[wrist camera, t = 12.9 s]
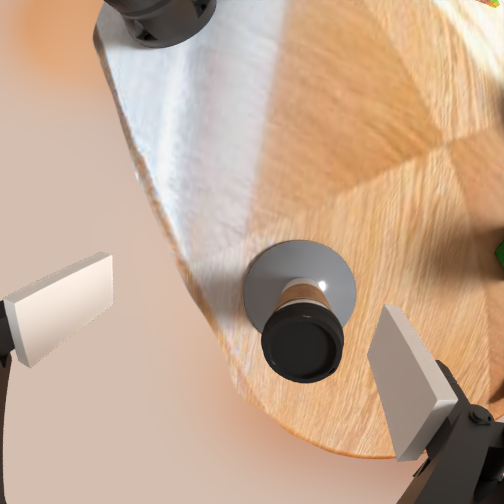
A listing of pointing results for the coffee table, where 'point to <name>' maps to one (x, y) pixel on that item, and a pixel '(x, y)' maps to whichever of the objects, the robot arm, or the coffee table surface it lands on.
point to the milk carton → (500, 254)
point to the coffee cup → (303, 334)
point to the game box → (490, 2)
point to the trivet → (296, 266)
